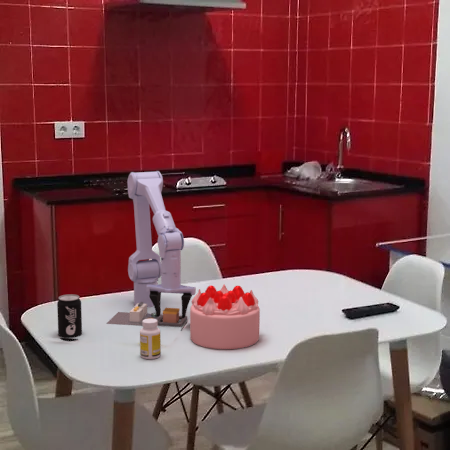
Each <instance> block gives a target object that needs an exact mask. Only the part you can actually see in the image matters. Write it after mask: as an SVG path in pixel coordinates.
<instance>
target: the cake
mask: <svg viewBox="0 0 450 450" xmlns="http://www.w3.org/2000/svg"><path fill="white" fill-rule="evenodd" d="M243 289H244V288H243V287H241V286H240V285H235V286H234V287H233V289H232V290H228V288H227V286H226V285H225V284H223V285H222V286H221V288H220V290H217V289H216V287H215V286H214V285H209V286H207V287H206V289H205V290H204V292H201V289H198V292H196V293H197V294H195V295H194V297H193V298H191V306H190V309H189V310H190V311H189V313H190V314H189V317H190V318H189V322H190V323H189V325H190V326H189V333H190V334H189V337H190V340H191V341H192V343H194V344H196V345H197V346H199V347H202V348H203V347H204V348H206V349H214V350H237V349H238V348H239V349H245V348H248V347H250V345H251V346H253V345H255V344H257V342H258V341H259V339H260V325H261V324H260V322H261V320H260V319H261V318H260V316H261V315H260V314H261V313H260V311H261V309H260V306H259V300H258V298H257V297H256V296H255V295H254V292H253V290H252V289H251V290H250V291H248V292H245V291H244V290H243ZM244 347H245V348H244Z"/></svg>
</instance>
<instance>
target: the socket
mask: <svg viewBox="0 0 450 450" xmlns="http://www.w3.org/2000/svg"><path fill="white" fill-rule="evenodd" d="M187 320H188V316H187V315H186V317H185V318H182V315H179V322H178V323H168V322H163V314H162V315H161V316H160V317H159V318H158V319H157V321H158V326H157V327H172V328H173V327H174V328H181V330H180V332H182V330H183V329H184V328H185V326H186V325H187V324H188V321H187Z"/></svg>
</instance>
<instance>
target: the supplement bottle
mask: <svg viewBox="0 0 450 450" xmlns="http://www.w3.org/2000/svg"><path fill="white" fill-rule="evenodd" d="M161 343H162V341H161V330H160V328H159V326H158V321H157V320H156V319H144V320H143V321H142V326H141V328H140V331H139V351H140V352H139V354H140V355H139V356H140V357H141V359H146V360H153V359H154V360H155V359H158V358H160V357H161V355H162V351H161V349H162V348H161V346H162V345H161Z"/></svg>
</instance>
